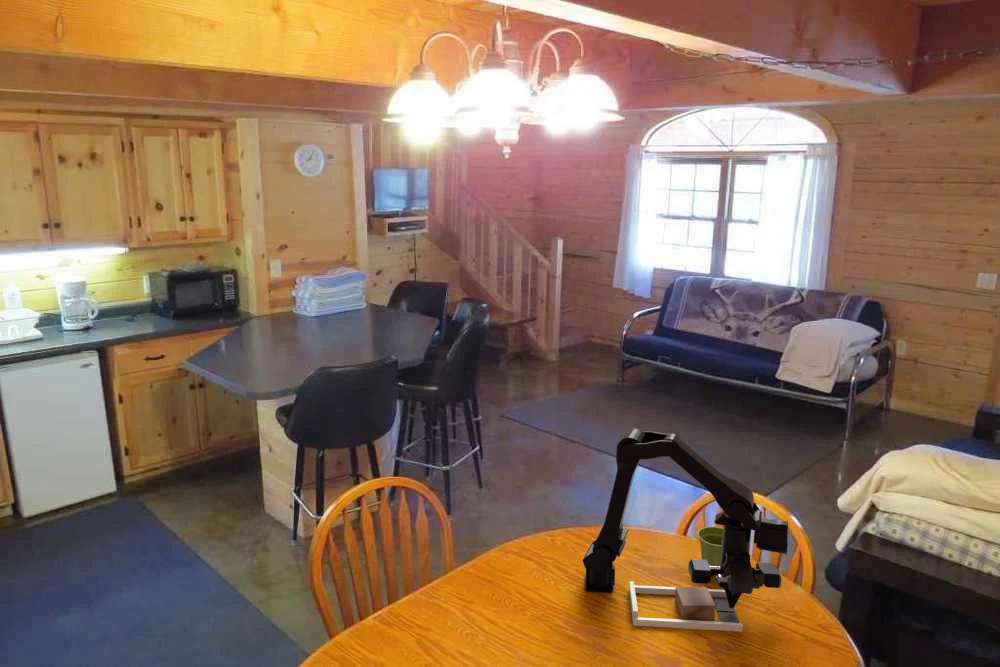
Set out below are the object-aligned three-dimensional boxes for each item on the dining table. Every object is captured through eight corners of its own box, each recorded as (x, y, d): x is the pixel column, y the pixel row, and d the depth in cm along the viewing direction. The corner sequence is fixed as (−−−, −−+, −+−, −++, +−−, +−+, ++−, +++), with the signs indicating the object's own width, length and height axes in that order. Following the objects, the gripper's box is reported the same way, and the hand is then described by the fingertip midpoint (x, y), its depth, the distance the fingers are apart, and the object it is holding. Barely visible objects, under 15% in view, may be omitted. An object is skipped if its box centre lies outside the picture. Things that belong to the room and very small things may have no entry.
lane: (633, 625, 150) (633, 613, 150) (628, 590, 163) (629, 579, 162) (742, 631, 148) (743, 619, 147) (729, 595, 160) (730, 584, 160)
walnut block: (682, 621, 152) (683, 605, 151) (675, 602, 159) (675, 587, 158) (714, 621, 152) (715, 605, 151) (705, 602, 158) (706, 586, 158)
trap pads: (722, 627, 149) (722, 626, 149) (712, 597, 160) (712, 596, 160) (741, 628, 149) (741, 627, 149) (730, 598, 159) (730, 597, 159)
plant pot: (730, 558, 176) (732, 527, 174) (738, 579, 167) (741, 546, 165) (692, 556, 177) (694, 525, 175) (699, 577, 168) (701, 544, 166)
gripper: (698, 561, 144) (694, 627, 147) (791, 566, 142) (785, 633, 145) (689, 534, 154) (686, 596, 158) (776, 538, 152) (770, 601, 156)
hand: (731, 607), depth 154 cm, fingers closed
